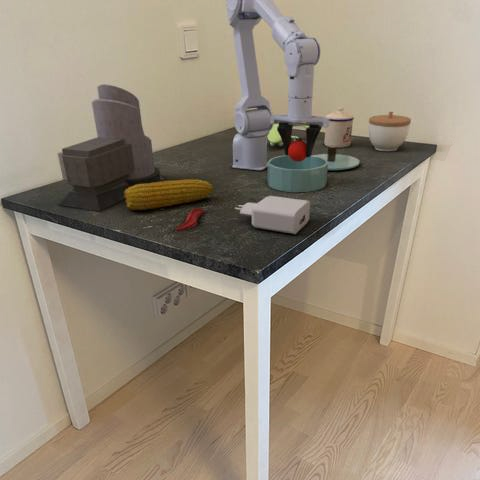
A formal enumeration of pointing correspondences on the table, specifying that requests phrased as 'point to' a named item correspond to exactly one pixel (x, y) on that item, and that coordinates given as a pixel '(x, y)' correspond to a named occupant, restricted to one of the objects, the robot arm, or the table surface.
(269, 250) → the table surface
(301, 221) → the charger
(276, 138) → the figurine
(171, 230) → the table surface
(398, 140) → the lidded bowl
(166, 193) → the food
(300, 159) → the tomato
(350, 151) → the table surface
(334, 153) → the pan lid
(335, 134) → the teacup with lid
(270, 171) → the pan
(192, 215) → the cayenne pepper
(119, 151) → the grey piece
